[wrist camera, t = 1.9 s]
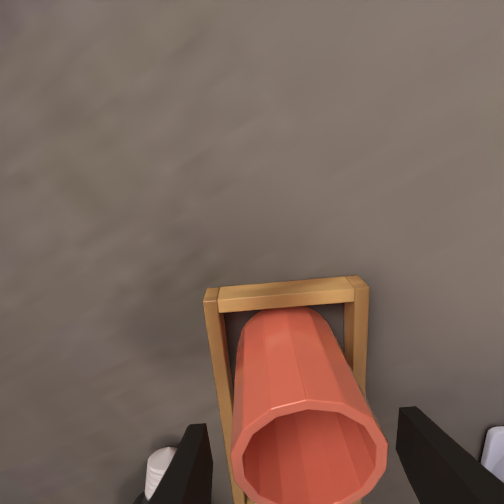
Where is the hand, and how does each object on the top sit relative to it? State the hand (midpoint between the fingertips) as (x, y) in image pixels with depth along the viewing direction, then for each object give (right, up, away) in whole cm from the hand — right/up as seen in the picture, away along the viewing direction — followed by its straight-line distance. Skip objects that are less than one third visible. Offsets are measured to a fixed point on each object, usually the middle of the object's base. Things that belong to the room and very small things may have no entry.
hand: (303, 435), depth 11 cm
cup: (0, +2, +5) cm, 6 cm away
